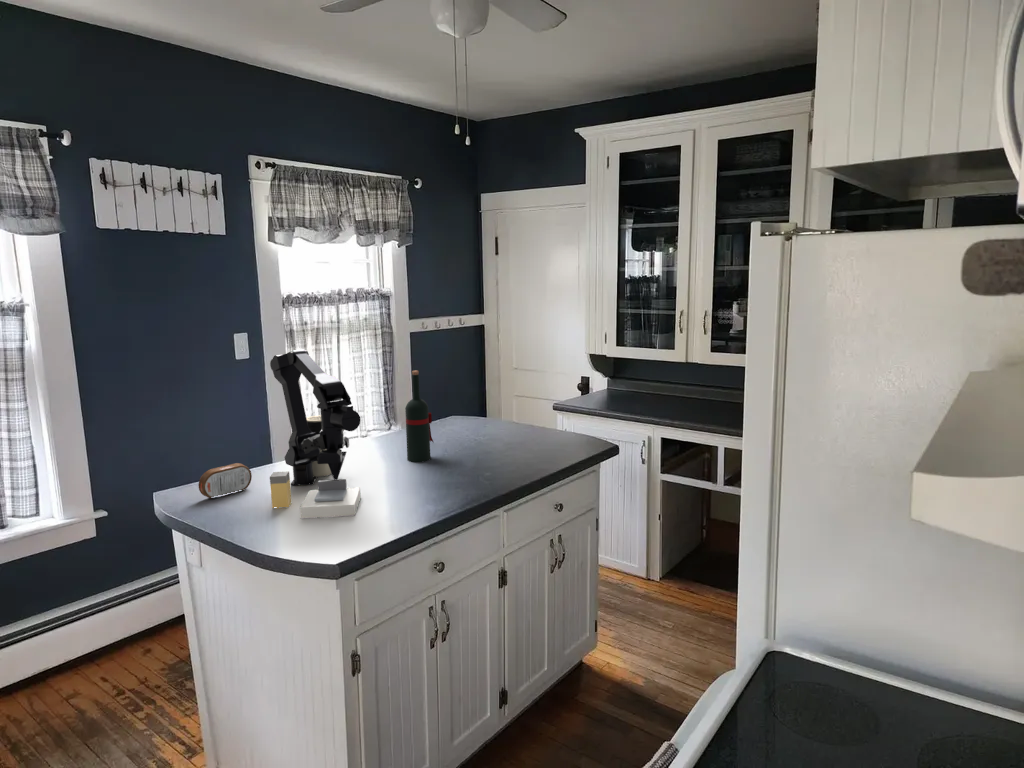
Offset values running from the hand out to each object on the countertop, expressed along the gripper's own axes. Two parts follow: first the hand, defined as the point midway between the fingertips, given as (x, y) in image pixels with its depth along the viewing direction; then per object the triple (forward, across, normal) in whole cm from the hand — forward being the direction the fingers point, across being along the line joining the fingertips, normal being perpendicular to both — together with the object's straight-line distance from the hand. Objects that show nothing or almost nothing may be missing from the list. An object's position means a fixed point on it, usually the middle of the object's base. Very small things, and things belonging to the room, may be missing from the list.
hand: (335, 479), depth 191 cm
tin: (+5, -7, -32) cm, 33 cm away
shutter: (+2, +9, 0) cm, 9 cm away
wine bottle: (+5, -35, +23) cm, 42 cm away
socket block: (+5, +9, 0) cm, 11 cm away
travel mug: (+5, -23, -8) cm, 25 cm away
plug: (+5, +5, -14) cm, 16 cm away
